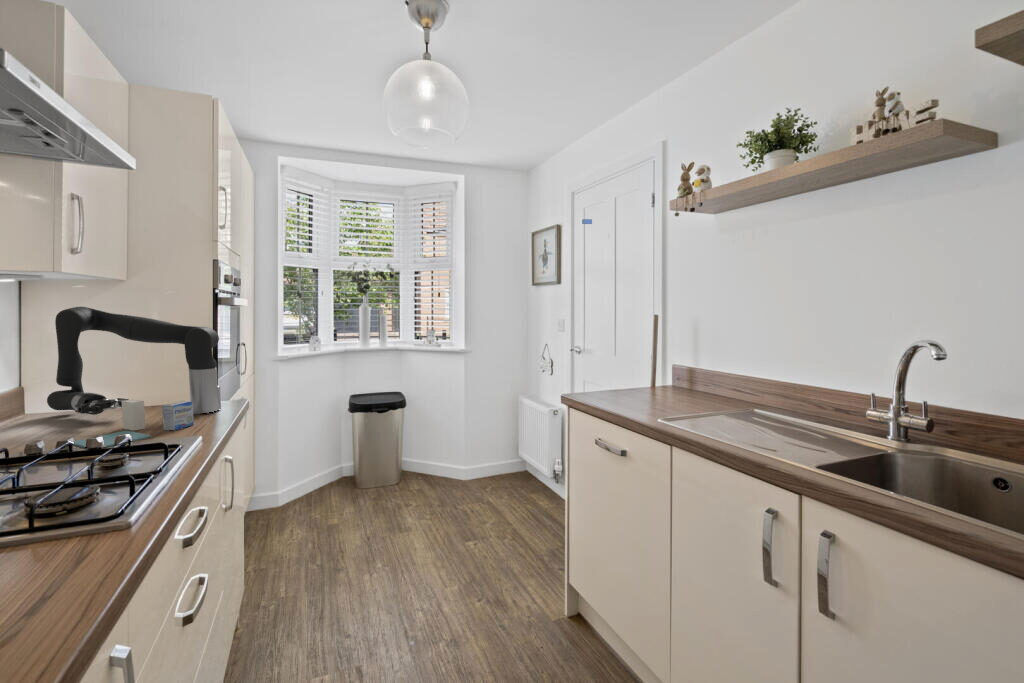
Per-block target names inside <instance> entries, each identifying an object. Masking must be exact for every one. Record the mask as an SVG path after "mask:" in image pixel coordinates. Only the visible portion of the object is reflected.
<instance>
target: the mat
mask: <svg viewBox="0 0 1024 683" xmlns="http://www.w3.org/2000/svg"><path fill="white" fill-rule="evenodd" d="M124 434H130V435H131V436H132V441H133V442H136V441H140V440H141V441H142V440H145V439H146V440H147V439H150V438H152V435H151V434H146V433H141V432H136V431H133V430H128V429H125V430H122V431H117V432H113V433H108V434H107V433H106V434H103V435H101V436H103V440H104V445H105V446H108V447H107V448H110V447H114V446H113V445H114V439H115V437H116V436H119V435H124ZM86 439H87V438H84V439H79V440H74V441H72V442H74V445H73V446H76V447H80V448H84V449H86V448H85V447H86V445H85V444H86Z"/></svg>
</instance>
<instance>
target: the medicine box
mask: <svg viewBox="0 0 1024 683" xmlns="http://www.w3.org/2000/svg"><path fill="white" fill-rule="evenodd" d="M161 406H162V408H161V409H162V421H163V422H162V423H163V430H164V431H169V430H174V431H173V432H175V430H176V431H179V430H182V429H181V428H183V429H185V428H184V427H186V428H189V427H192V426H191V425H193V426H194V414H193V403H192V401H190V400H181V401H177V402H172V403H168V404H163V405H161ZM188 426H189V427H188ZM178 429H179V430H178Z"/></svg>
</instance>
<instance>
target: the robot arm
mask: <svg viewBox="0 0 1024 683" xmlns="http://www.w3.org/2000/svg"><path fill="white" fill-rule="evenodd" d="M55 316H56V317H55V320H54V323H55V324H54V325H55V332H56V342H57V354H58V355H57V356H58V357H57V358H58V360H57V369H56V378H55V381H56V383H57V385H58V386H61V387H69V388H71V389H64V390H63V389H62V390H56V391H52V392H51V393H49V394H48V396H47V398H46V403H47V406H48V407H49V408H51V409H52V410H54V411H75V413H78V414H81V415H82V414H86V415H90V416H91V415H92V416H95V415H99V414H102V413H103V412H104V411H107V410H117V409H118V408H119V409H120V408H122V402H121V401H124V400H130V398H123V397H122V398H120V397H118V398H114V399H113V398H111V399H109V398H107V397H106V396H104V395H103V394H100V393H95V392H94V393H93V392H84V388H83V383H82V379H83V378H82V377H83V369H84V365H83V364H84V363H83V358H82V356H81V353H80V351H79V339H80V335H81V333H82V332H85V331H86V332H87V331H100V332H109V333H112V334H114V335H117V336H119V337H122V338H124V339H127V340H130V341H134V342H141V343H148V344H149V343H151V344H179V345H184V354H185V360H186V363H187V365H188V377H189V378H188V381H189V401H192V403H193V415H201V414H200V413H207V414H210V413H209V412H213V413H215V412H214V411H217V410H219V409H221V410H222V402H221V400H222V398H221V396H222V395H221V386H219V385H218V370H217V368H218V367H217V365H218V364H217V360H216V359H215V358H214V356H213V348H214V347H216V346H217V345H218V344H219V340H220V337H219V334H218V332H216V330H214V329H212V328H211V327H209V326H196V325H195V326H194V325H193V326H192V325H182V324H177V323H173V322H172V323H171V322H169V321H164V320H160V319H154V318H149V317H144V316H136V315H135V316H134V315H130V314H129V315H128V314H120V313H113V312H108V311H107V312H106V311H103V310H98V309H95V308H93V307H92V308H90V307H86V306H73V307H69V308H65V309H63V310H61V311H59V312H58V313H57V314H56V315H55ZM219 411H220V410H219ZM217 412H218V411H217Z"/></svg>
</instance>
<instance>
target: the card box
mask: <svg viewBox="0 0 1024 683" xmlns="http://www.w3.org/2000/svg"><path fill="white" fill-rule="evenodd" d="M121 402H122V407H121V416H122V428H123V429H124V430H127V431H132V432H136V431H138V430H144V429H146V427H147V426H146V414H145V400H142V399H135V398H132V399H129V400H124V401H121Z"/></svg>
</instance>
